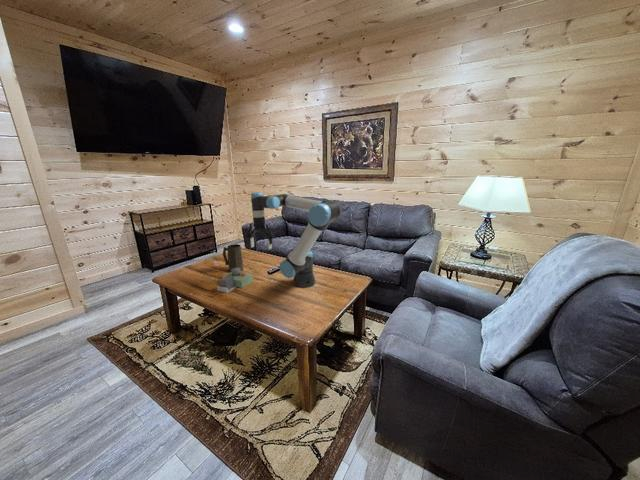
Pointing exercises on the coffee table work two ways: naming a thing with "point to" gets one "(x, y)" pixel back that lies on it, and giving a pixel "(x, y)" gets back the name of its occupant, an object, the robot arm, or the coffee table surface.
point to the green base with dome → (237, 279)
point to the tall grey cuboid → (227, 282)
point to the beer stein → (233, 256)
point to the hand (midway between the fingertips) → (261, 247)
